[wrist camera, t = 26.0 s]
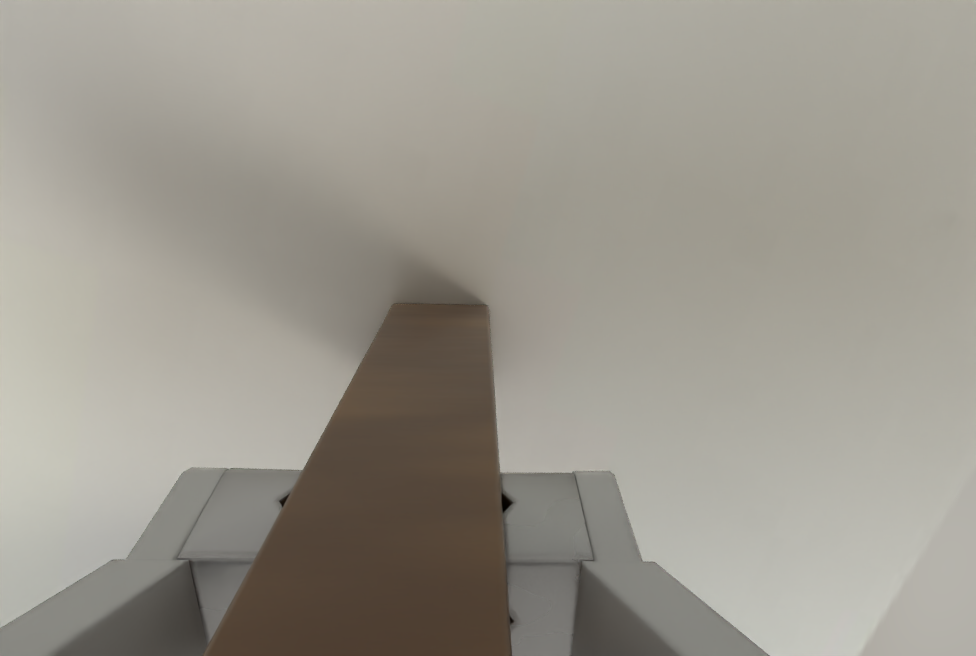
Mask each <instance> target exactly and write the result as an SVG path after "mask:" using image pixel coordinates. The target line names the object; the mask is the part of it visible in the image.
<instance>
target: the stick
mask: <svg viewBox="0 0 976 656" xmlns="http://www.w3.org/2000/svg"><path fill="white" fill-rule="evenodd" d="M202 656H512V644H511V629H510V614H509V599H508V584H507V569H506V554H505V539H504V524H503V509H502V494H501V479H500V464H499V449H498V434H497V419H496V404H495V389H494V374H493V359H492V344H491V329H490V314H489V307H488V306H487V305H460V304H393V305H392V306H391V308H390V310H389V312H388V314H387V315H386V317H385V319H384V321H383V323H382V325H381V326H380V328H379V330H378V332H377V334H376V336H375V338H374V339H373V341H372V343H371V345H370V347H369V349H368V350H367V352H366V354H365V356H364V358H363V360H362V362H361V363H360V365H359V367H358V369H357V371H356V373H355V375H354V376H353V378H352V380H351V382H350V384H349V386H348V387H347V389H346V391H345V393H344V395H343V397H342V399H341V400H340V402H339V404H338V406H337V408H336V410H335V411H334V413H333V415H332V417H331V419H330V421H329V423H328V424H327V426H326V428H325V430H324V432H323V434H322V435H321V437H320V439H319V441H318V443H317V445H316V447H315V448H314V450H313V452H312V454H311V456H310V458H309V459H308V461H307V463H306V465H305V467H304V469H303V471H302V472H301V474H300V476H299V478H298V480H297V482H296V484H295V485H294V487H293V489H292V491H291V493H290V495H289V496H288V498H287V500H286V502H285V504H284V506H283V508H282V509H281V511H280V513H279V515H278V517H277V519H276V520H275V522H274V524H273V526H272V528H271V530H270V532H269V533H268V535H267V537H266V539H265V541H264V543H263V544H262V546H261V548H260V550H259V552H258V554H257V556H256V557H255V559H254V561H253V563H252V565H251V567H250V568H249V570H248V572H247V574H246V576H245V578H244V580H243V581H242V583H241V585H240V587H239V589H238V591H237V592H236V594H235V596H234V598H233V600H232V602H231V604H230V605H229V607H228V609H227V611H226V613H225V615H224V617H223V618H222V620H221V622H220V624H219V626H218V628H217V629H216V631H215V633H214V635H213V637H212V639H211V641H210V642H209V644H208V646H207V648H206V650H205V652H204V653H203V655H202Z"/></svg>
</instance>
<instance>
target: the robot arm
mask: <svg viewBox="0 0 976 656" xmlns="http://www.w3.org/2000/svg"><path fill="white" fill-rule="evenodd" d="M302 471H303V470H282V469H249V468H230V469H227V468H190V469H188V470H186V471H184V472H183V473H182V474H181V475H180V477H179V478H178V480H177V481H176V483H175V484H174V486H173V487H172V489H171V490H170V492H169V494H168V495H167V497H166V498H165V500H164V501H163V503H162V504H161V506H160V507H159V509H158V511H157V512H156V514H155V515H154V517H153V518H152V520H151V521H150V523H149V524H148V526H147V528H146V529H145V531H144V532H143V534H142V535H141V537H140V538H139V540H138V541H137V543H136V545H135V546H134V548H133V549H132V551H131V552H130V554H129V555H128V557H127V558H126V560H111V561H110V562H108V563H106V564H105V565H103V566H102V567H100V568H98V569H97V570H95V571H93V572H92V573H90V574H88V575H87V576H85V577H84V578H82V579H80V580H79V581H77V582H75V583H74V584H72V585H70V586H69V587H67V588H66V589H64V590H62V591H61V592H59V593H57V594H56V595H54V596H53V597H51V598H49V599H48V600H46V601H44V602H43V603H41V604H39V605H38V606H36V607H35V608H33V609H31V610H30V611H28V612H26V613H25V614H23V615H21V616H20V617H18V618H17V619H15V620H13V621H12V622H10V623H8V624H7V625H5V626H3V627H2V628H0V656H202V655H203V653H204V652H205V650H206V648H207V646H208V644H209V642H210V641H211V639H212V637H213V635H214V633H215V631H216V629H217V628H218V626H219V624H220V622H221V620H222V618H223V617H224V615H225V613H226V611H227V609H228V607H229V605H230V604H231V602H232V600H233V598H234V596H235V594H236V592H237V591H238V589H239V587H240V585H241V583H242V581H243V580H244V578H245V576H246V574H247V572H248V570H249V568H250V567H251V565H252V563H253V561H254V559H255V557H256V556H257V554H258V552H259V550H260V548H261V546H262V544H263V543H264V541H265V539H266V537H267V535H268V533H269V532H270V530H271V528H272V526H273V524H274V522H275V520H276V519H277V517H278V515H279V513H280V511H281V509H282V508H283V506H284V504H285V502H286V500H287V498H288V496H289V495H290V493H291V491H292V489H293V487H294V485H295V484H296V482H297V480H298V478H299V476H300V474H301V472H302ZM500 479H501V494H502V509H503V524H504V539H505V554H506V569H507V584H508V599H509V614H510V629H511V644H512V656H769V655H768V654H767V653H766V652H764V651H763V650H762V649H761V648H760V647H758V646H757V645H756V644H755V643H753V642H752V641H751V640H750V639H749V638H747V637H746V636H745V635H744V634H742V633H741V632H740V631H739V630H737V629H736V628H735V627H734V626H733V625H731V624H730V623H729V622H728V621H726V620H725V619H724V618H723V617H722V616H720V615H719V614H718V613H717V612H715V611H714V610H713V609H712V608H711V607H709V606H708V605H707V604H706V603H704V602H703V601H702V600H701V599H700V598H698V597H697V596H696V595H695V594H693V593H692V592H691V591H690V590H689V589H687V588H686V587H685V586H684V585H682V584H681V583H680V582H679V581H678V580H676V579H675V578H674V577H673V576H671V575H670V574H669V573H668V572H666V571H665V570H664V569H663V568H662V567H660V566H659V565H658V564H657V563H655V562H643V561H642V558H641V555H640V552H639V549H638V546H637V543H636V540H635V537H634V533H633V530H632V527H631V524H630V521H629V518H628V515H627V512H626V509H625V506H624V503H623V500H622V497H621V493H620V490H619V487H618V484H617V481H616V478H615V475H614V474H613V473H612V472H611V471H573V472H572V473H500Z"/></svg>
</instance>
